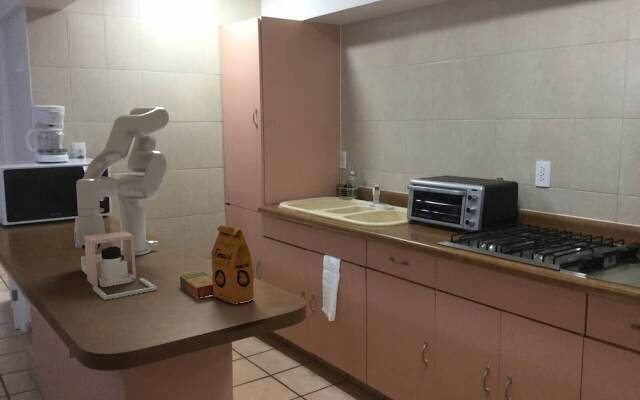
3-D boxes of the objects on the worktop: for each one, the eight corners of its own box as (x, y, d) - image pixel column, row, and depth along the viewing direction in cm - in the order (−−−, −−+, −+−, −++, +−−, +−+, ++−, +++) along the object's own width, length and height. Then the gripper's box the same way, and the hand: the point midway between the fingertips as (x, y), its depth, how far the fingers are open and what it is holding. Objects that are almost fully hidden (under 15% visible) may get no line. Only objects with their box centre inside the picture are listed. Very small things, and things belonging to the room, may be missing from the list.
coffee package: (230, 308, 161) (227, 232, 157) (208, 298, 170) (206, 226, 167) (259, 301, 167) (257, 228, 164) (237, 291, 176) (235, 222, 173)
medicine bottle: (128, 281, 189) (126, 246, 187) (110, 287, 183) (107, 251, 181) (116, 278, 193) (113, 244, 191) (97, 283, 187) (94, 248, 185)
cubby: (127, 273, 198) (125, 231, 195) (136, 279, 190) (133, 235, 188) (87, 280, 190) (84, 236, 188) (94, 286, 183) (91, 240, 180)
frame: (143, 280, 189) (143, 277, 189) (157, 290, 178) (157, 287, 178) (92, 289, 179) (92, 286, 179) (104, 300, 169) (104, 296, 169)
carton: (196, 301, 169) (196, 287, 168) (179, 287, 182) (178, 274, 182) (223, 295, 173) (222, 282, 173) (204, 283, 187) (203, 270, 186)
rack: (111, 265, 208) (110, 252, 207) (134, 281, 187) (133, 267, 186) (81, 270, 202) (80, 256, 201) (102, 287, 181) (101, 272, 180)
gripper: (107, 209, 213) (109, 257, 216) (64, 213, 204) (67, 262, 207) (113, 211, 207) (115, 260, 210) (69, 215, 198) (72, 266, 201)
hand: (91, 261), depth 208 cm, fingers closed
